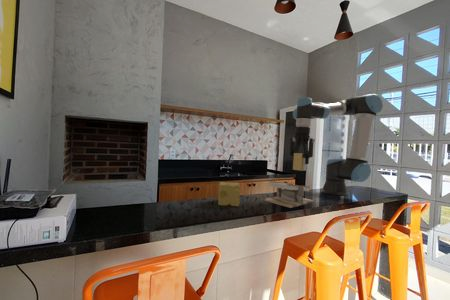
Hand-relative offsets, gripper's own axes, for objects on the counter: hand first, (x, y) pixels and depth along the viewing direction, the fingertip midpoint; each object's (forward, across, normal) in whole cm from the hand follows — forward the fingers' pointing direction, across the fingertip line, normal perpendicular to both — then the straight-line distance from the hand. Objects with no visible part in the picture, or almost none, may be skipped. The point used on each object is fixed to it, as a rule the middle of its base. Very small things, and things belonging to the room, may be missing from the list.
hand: (299, 169), depth 126 cm
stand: (+18, -2, -4) cm, 18 cm away
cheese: (+19, -17, -36) cm, 44 cm away
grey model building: (+14, -2, -5) cm, 15 cm away
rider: (0, 0, 0) cm, 0 cm away
